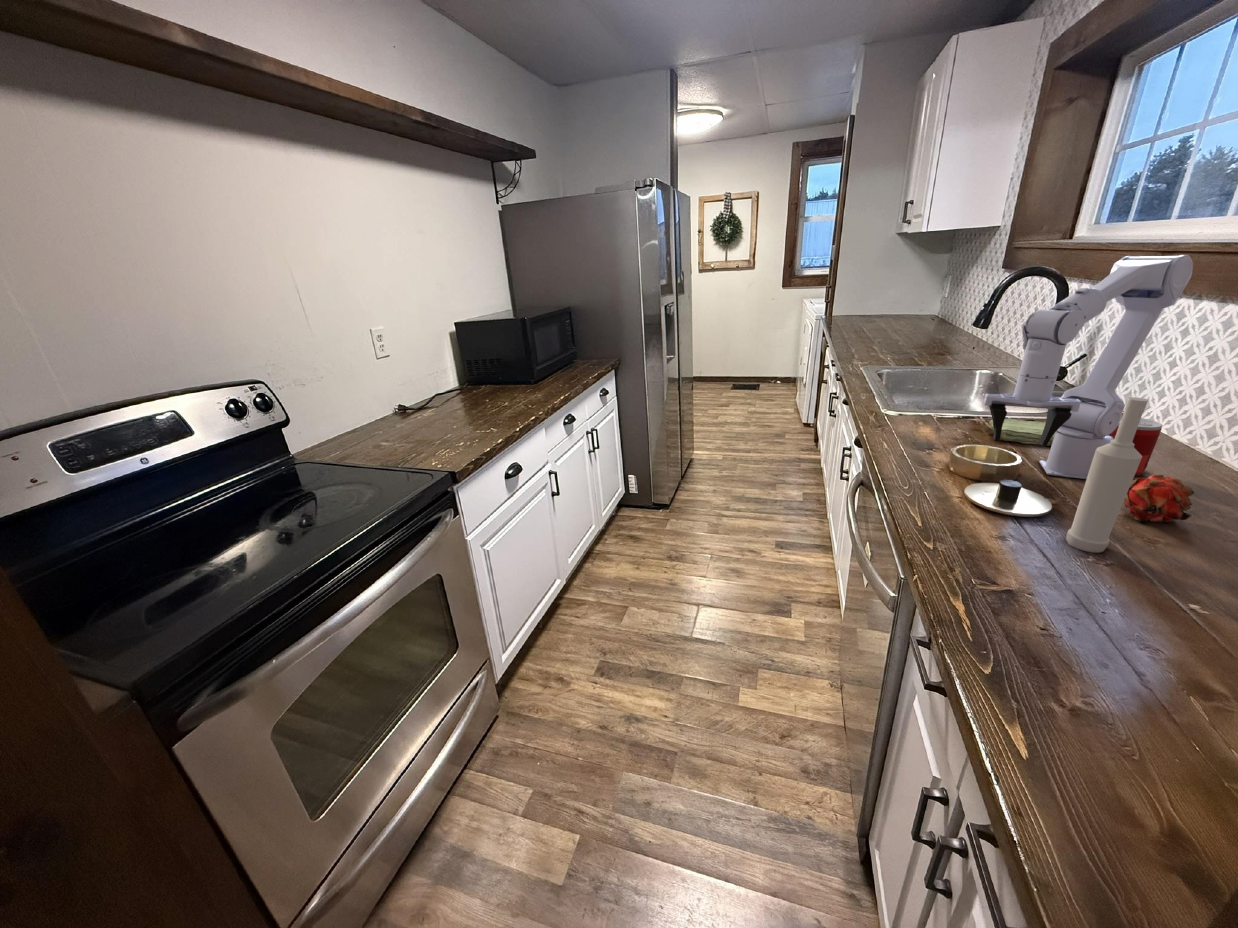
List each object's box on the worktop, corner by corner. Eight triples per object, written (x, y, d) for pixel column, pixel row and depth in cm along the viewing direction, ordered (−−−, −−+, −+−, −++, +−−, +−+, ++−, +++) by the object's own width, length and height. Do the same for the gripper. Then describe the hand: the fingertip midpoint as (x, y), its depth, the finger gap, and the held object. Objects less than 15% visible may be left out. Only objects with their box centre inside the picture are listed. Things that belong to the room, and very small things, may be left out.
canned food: (1153, 477, 104) (1173, 427, 100) (1108, 475, 106) (1126, 427, 102) (1127, 463, 111) (1144, 416, 107) (1085, 462, 113) (1101, 415, 109)
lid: (1041, 494, 100) (1047, 475, 98) (1059, 525, 88) (1066, 504, 87) (960, 483, 106) (964, 465, 104) (967, 511, 94) (972, 491, 93)
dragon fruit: (1156, 514, 94) (1144, 545, 87) (1114, 480, 96) (1100, 509, 90) (1210, 491, 87) (1201, 523, 80) (1164, 456, 89) (1152, 485, 83)
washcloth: (1083, 450, 119) (1087, 437, 118) (993, 441, 127) (996, 429, 126) (1068, 433, 130) (1072, 421, 129) (986, 426, 138) (989, 415, 136)
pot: (1011, 464, 113) (1015, 448, 112) (1022, 486, 103) (1027, 468, 102) (946, 457, 119) (949, 441, 117) (950, 477, 109) (954, 460, 107)
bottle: (1096, 539, 84) (1150, 395, 74) (1113, 555, 79) (1172, 404, 70) (1059, 535, 86) (1106, 394, 76) (1073, 550, 81) (1125, 403, 72)
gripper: (994, 377, 95) (978, 444, 100) (1094, 382, 88) (1071, 453, 93) (989, 370, 100) (973, 433, 106) (1081, 373, 94) (1060, 441, 99)
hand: (1019, 442), depth 100 cm, fingers open, 7 cm apart
